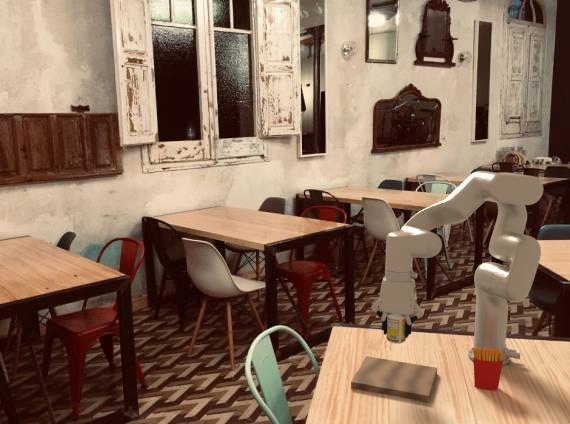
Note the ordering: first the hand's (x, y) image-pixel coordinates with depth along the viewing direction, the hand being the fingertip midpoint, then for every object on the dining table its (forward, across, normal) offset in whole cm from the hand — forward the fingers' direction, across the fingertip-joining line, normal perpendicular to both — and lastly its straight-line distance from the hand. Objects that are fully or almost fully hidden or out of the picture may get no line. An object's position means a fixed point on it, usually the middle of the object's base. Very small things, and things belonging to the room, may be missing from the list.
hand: (396, 333), depth 163 cm
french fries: (+15, -25, -6) cm, 30 cm away
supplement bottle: (+2, 0, 0) cm, 2 cm away
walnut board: (+15, 0, 0) cm, 15 cm away
